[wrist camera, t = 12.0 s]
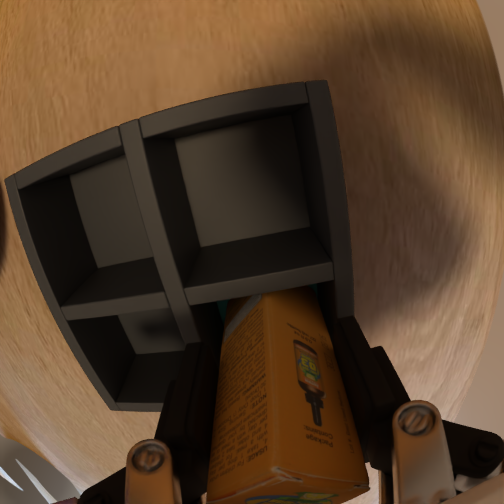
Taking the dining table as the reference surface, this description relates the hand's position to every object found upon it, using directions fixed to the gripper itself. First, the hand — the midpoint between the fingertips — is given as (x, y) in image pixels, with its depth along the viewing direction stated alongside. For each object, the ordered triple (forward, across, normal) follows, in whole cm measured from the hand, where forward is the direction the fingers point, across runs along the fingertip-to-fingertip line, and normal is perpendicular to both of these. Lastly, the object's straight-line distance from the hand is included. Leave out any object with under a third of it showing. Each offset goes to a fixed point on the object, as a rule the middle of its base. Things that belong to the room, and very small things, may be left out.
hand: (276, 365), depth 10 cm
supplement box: (+5, 0, 0) cm, 5 cm away
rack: (+6, +3, -3) cm, 7 cm away
